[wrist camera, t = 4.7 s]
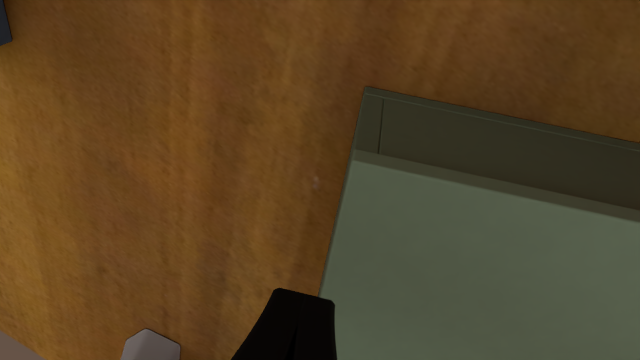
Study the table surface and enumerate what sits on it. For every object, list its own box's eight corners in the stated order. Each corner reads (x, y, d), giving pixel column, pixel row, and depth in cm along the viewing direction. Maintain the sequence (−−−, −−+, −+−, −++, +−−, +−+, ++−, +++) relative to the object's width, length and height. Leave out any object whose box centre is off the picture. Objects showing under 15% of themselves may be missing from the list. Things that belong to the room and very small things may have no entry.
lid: (354, 147, 13) (351, 160, 12) (893, 263, 12) (918, 283, 11) (297, 394, 20) (293, 409, 20) (623, 472, 20) (629, 490, 19)
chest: (365, 85, 18) (350, 157, 13) (735, 162, 17) (860, 268, 13) (317, 296, 25) (297, 393, 20) (579, 356, 24) (622, 471, 20)
